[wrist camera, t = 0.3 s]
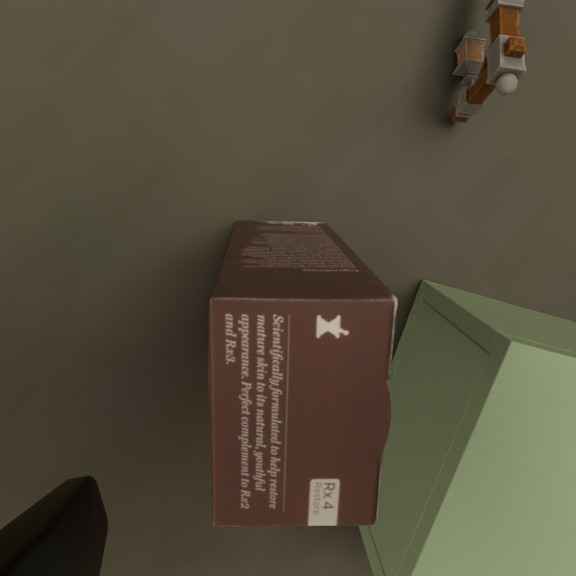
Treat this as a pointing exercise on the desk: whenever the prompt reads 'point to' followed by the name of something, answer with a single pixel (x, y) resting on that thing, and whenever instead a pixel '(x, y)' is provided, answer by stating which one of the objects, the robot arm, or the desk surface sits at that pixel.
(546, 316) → the green drawer cabinet
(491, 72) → the wooden post with brackets
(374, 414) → the box
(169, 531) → the desk surface
